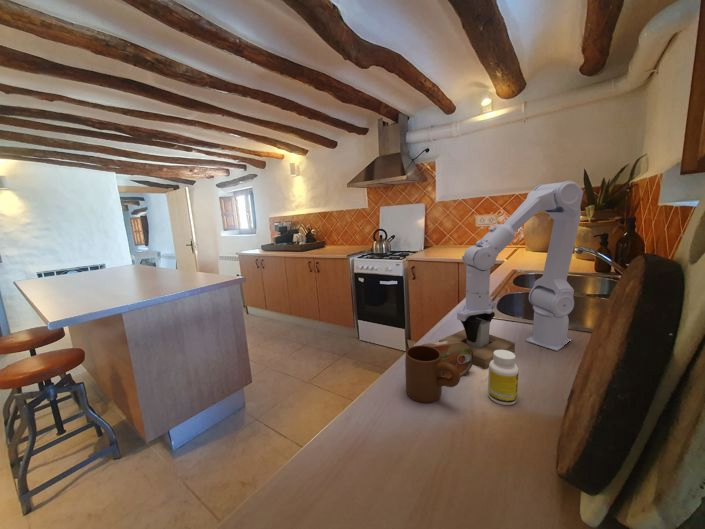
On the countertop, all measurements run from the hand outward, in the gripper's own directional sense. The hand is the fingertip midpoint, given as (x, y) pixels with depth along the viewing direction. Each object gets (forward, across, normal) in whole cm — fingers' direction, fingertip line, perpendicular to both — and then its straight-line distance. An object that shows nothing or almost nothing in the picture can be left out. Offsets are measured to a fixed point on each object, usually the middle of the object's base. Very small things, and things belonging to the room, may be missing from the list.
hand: (476, 338), depth 79 cm
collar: (+3, 0, 0) cm, 3 cm away
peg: (+3, 0, 0) cm, 3 cm away
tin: (+4, -17, -2) cm, 18 cm away
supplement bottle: (+4, -14, -15) cm, 21 cm away
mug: (+4, -25, -6) cm, 26 cm away
